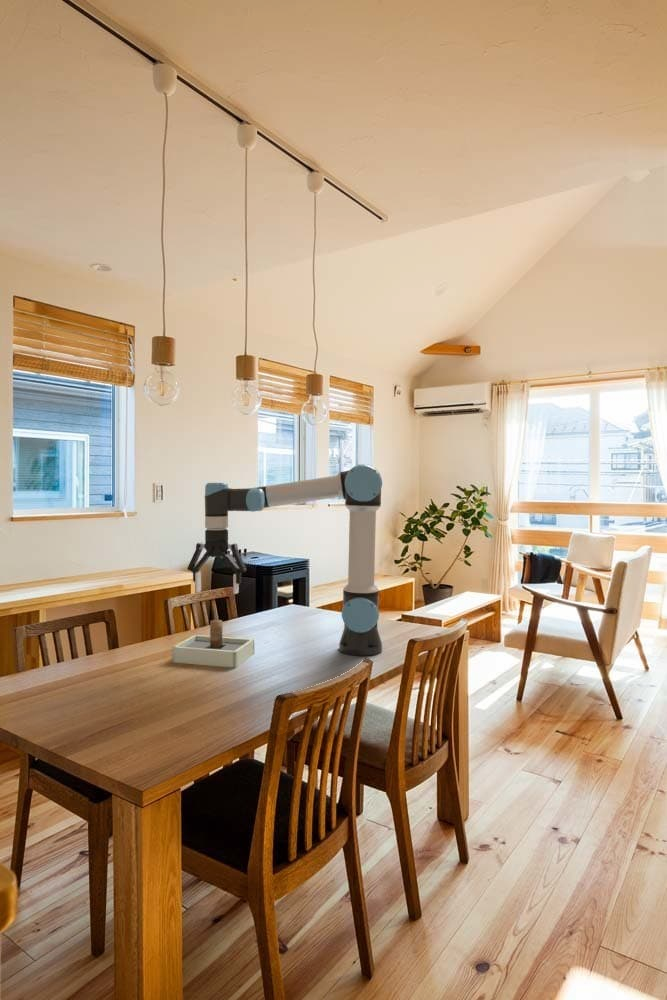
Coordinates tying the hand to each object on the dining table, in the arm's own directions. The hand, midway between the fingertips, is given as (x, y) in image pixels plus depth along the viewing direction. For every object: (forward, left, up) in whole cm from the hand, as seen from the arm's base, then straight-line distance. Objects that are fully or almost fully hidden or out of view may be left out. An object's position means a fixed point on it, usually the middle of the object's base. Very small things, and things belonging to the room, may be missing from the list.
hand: (217, 592), depth 202 cm
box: (0, +2, -22) cm, 22 cm away
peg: (0, 0, -22) cm, 22 cm away
